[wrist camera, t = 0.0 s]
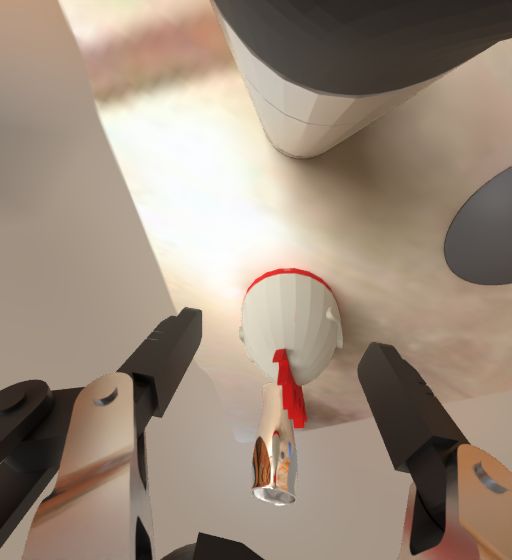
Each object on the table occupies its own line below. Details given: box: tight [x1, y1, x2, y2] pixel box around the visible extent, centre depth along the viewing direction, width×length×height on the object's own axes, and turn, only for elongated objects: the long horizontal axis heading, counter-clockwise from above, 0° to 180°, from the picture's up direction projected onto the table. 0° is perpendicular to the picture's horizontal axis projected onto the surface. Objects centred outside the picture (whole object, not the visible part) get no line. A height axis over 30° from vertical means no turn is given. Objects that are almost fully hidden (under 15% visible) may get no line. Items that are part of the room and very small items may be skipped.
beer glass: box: [250, 382, 298, 506], centre depth 33 cm, size 7×7×15 cm
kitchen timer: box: [239, 268, 343, 428], centre depth 23 cm, size 14×14×15 cm
